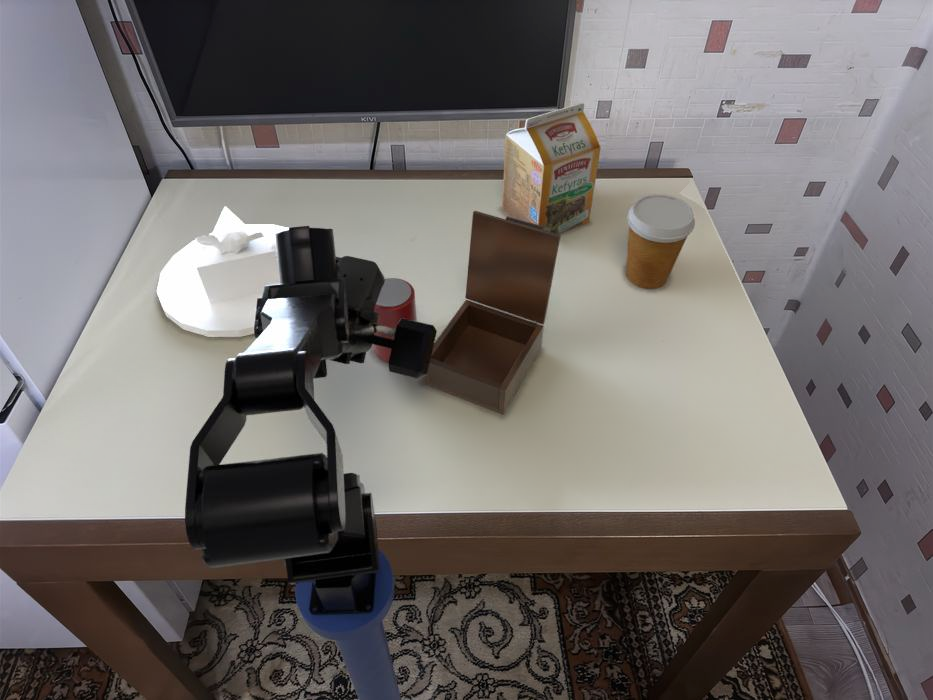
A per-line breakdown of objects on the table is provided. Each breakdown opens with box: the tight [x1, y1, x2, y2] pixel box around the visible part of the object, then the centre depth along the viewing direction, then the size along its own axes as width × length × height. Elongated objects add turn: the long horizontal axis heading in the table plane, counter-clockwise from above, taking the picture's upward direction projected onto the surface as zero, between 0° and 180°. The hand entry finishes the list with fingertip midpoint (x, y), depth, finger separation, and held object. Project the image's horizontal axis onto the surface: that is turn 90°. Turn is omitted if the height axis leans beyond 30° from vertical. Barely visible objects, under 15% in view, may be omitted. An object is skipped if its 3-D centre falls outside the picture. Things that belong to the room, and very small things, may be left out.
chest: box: [423, 299, 544, 415], centre depth 90 cm, size 13×12×5 cm
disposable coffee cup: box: [625, 193, 696, 290], centre depth 100 cm, size 10×10×12 cm
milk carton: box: [501, 102, 602, 235], centre depth 108 cm, size 10×11×19 cm
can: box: [373, 277, 418, 364], centre depth 90 cm, size 6×6×10 cm
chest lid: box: [465, 210, 561, 325], centre depth 89 cm, size 13×12×4 cm
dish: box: [156, 205, 289, 338], centre depth 99 cm, size 25×25×11 cm
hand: (379, 335), depth 86 cm, fingers open, 9 cm apart
